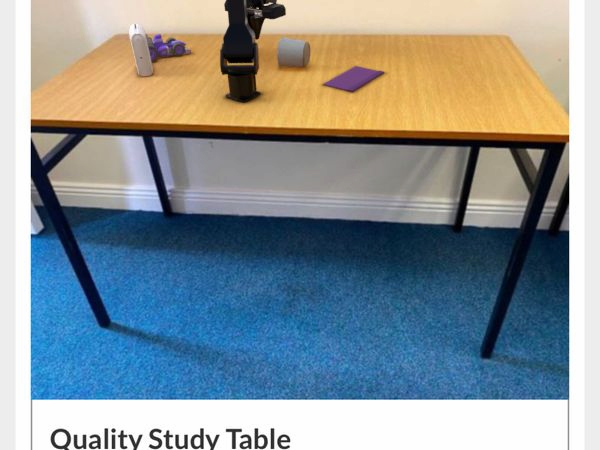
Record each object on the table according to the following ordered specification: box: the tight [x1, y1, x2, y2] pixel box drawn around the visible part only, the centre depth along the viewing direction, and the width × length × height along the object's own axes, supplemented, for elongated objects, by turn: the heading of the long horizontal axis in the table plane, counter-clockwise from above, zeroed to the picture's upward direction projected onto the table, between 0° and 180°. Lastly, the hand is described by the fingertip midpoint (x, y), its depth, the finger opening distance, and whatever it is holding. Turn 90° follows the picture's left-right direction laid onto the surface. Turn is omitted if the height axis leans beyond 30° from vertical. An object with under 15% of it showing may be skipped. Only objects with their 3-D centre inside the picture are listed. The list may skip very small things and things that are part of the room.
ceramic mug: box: [276, 36, 311, 69], centre depth 133 cm, size 11×8×8 cm
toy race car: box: [145, 33, 192, 64], centre depth 143 cm, size 10×15×6 cm, turn 120°
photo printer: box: [128, 23, 154, 77], centre depth 131 cm, size 10×4×12 cm, turn 17°
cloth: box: [322, 65, 385, 94], centre depth 126 cm, size 16×9×1 cm, turn 142°
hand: (256, 39), depth 139 cm, fingers closed
